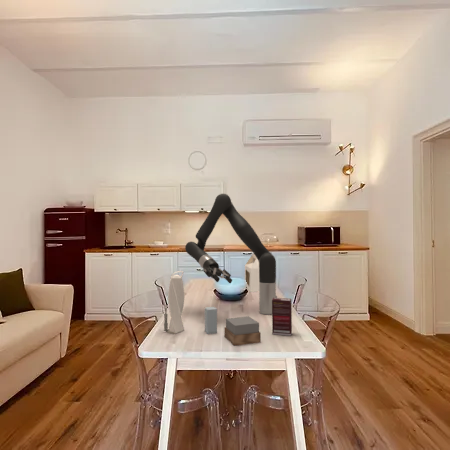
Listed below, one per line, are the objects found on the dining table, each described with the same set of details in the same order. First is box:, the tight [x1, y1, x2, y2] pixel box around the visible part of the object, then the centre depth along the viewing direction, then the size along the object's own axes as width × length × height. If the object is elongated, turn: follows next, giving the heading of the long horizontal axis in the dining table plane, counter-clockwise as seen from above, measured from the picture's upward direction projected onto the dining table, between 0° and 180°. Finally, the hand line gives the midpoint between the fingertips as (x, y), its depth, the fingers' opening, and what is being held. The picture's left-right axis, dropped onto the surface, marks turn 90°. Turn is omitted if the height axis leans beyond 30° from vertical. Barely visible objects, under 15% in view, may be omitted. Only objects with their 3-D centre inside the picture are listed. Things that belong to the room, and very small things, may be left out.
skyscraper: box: [163, 270, 185, 335], centre depth 158 cm, size 8×8×28 cm
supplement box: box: [271, 297, 293, 337], centre depth 154 cm, size 9×5×16 cm, turn 74°
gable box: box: [244, 253, 259, 293], centre depth 258 cm, size 22×13×28 cm, turn 8°
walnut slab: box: [223, 326, 261, 347], centre depth 147 cm, size 12×12×4 cm
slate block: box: [204, 306, 218, 335], centre depth 157 cm, size 5×5×11 cm
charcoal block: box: [225, 315, 260, 335], centre depth 147 cm, size 11×11×4 cm
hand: (224, 281), depth 168 cm, fingers open, 8 cm apart
